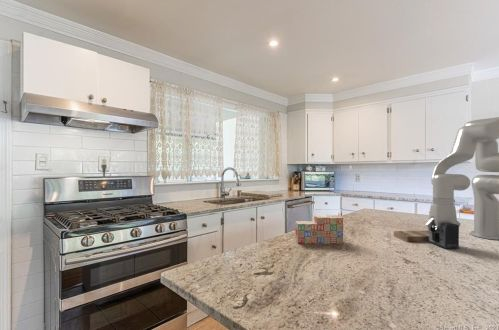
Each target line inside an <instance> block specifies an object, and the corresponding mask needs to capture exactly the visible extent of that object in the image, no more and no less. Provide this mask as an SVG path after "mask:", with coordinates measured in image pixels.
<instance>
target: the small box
mask: <svg viewBox="0 0 499 330" xmlns="http://www.w3.org/2000/svg"><path fill="white" fill-rule="evenodd" d="M431 226H433V225H431ZM435 226H436V225H435ZM435 229H436V227H435ZM428 231H429V238H428V243H430V244H433V245H436V246H438V247H440V248H443V249H444V250H445V249H451V250H452V249H455V250H458V249H460V245H459V244H460V243H459V242H460V241H459V240H460V237H459V236H460V226H459V225H456V224H451V223H441V227H439V231H438V233H439V242H435V241H433V240H432V232H431V230H430V229H429V228H428Z"/></svg>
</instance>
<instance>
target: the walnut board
mask: <svg viewBox="0 0 499 330" xmlns="http://www.w3.org/2000/svg"><path fill="white" fill-rule="evenodd" d="M393 237H395V238H397V239H399V240H402V241H403V242H406V243H423V242H424V243H425V242H426V243H427V242H428V238H429V230H395V231H393ZM428 243H429V242H428Z"/></svg>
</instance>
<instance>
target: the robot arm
mask: <svg viewBox="0 0 499 330" xmlns="http://www.w3.org/2000/svg"><path fill="white" fill-rule="evenodd" d="M498 139H499V116H495V117H490V118H482V119H481V118H480V119H473V120H470V121H467V122H466V123H465V124H463V126H462V127H460V128H458V130H457V132H456V135H455V138H454V140H453V141H454V142H453V145H452V148H451V151H450V153H449V154H447V155H446V156H445V157H443V158H441V160H440V161H438V163H437V164H436V165H435V167H434V169H433V172H432V175H431V182H430V183H431V184H432V204H430V207H429V212H428V213H429V214H428V221H427V222H426V223H425V226H426V227H427V228H428V230H429V229H430V230H431V232H432V240H433V241H435V242H439V233H438V231H439V227H441V223H451V224H456V225H459V227H460V226H461V223H460V221H458V220H457V219H458V218H457V211H456V210H457V209H456V206H455V202H456V200H455V196H454V195H455V191H458V192H459V191H460V192H461V191H465V190H467V189H468V188H470V186H471V189H472V192H473V230H472V231H470V232H469V234H470V235H471V236H472V237H476V238H481V239H487V240H495V241H496V240H497V241H498V240H499V200H498V198H497V197H496V196H495V195H499V174H478V175H475V176H474V177H472V179H471V180H470V178H469V177H468V176H467V175H466V174H462V173H461V174H460V173H459V174H458V173H446V172H448V170H449V169H451V168H452V167H454V166H457V165H460V164H463V163H465V162H467V161H470V160H472V159H473V158H475V160H474V162H475V168H476V170H477V171H479V172H482V173H483V172H484V173H499V143H498V141H497V140H498ZM431 225H433V226H431ZM435 225H436V226H435ZM435 227H436V229H435Z"/></svg>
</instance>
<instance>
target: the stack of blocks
mask: <svg viewBox="0 0 499 330" xmlns="http://www.w3.org/2000/svg"><path fill="white" fill-rule="evenodd" d="M294 225H295V229H294V236H295V241H296V243H297V244H307V243H310V244H311V243H314V245H315V244H317V245H319V244H324V245H325V244H340V245H341V244H344V217H342V216H340V215H334V214H314V215H313V220H308V221H306V220H305V221H303V220H302V221H301V220H297V221H295V223H294Z"/></svg>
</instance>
